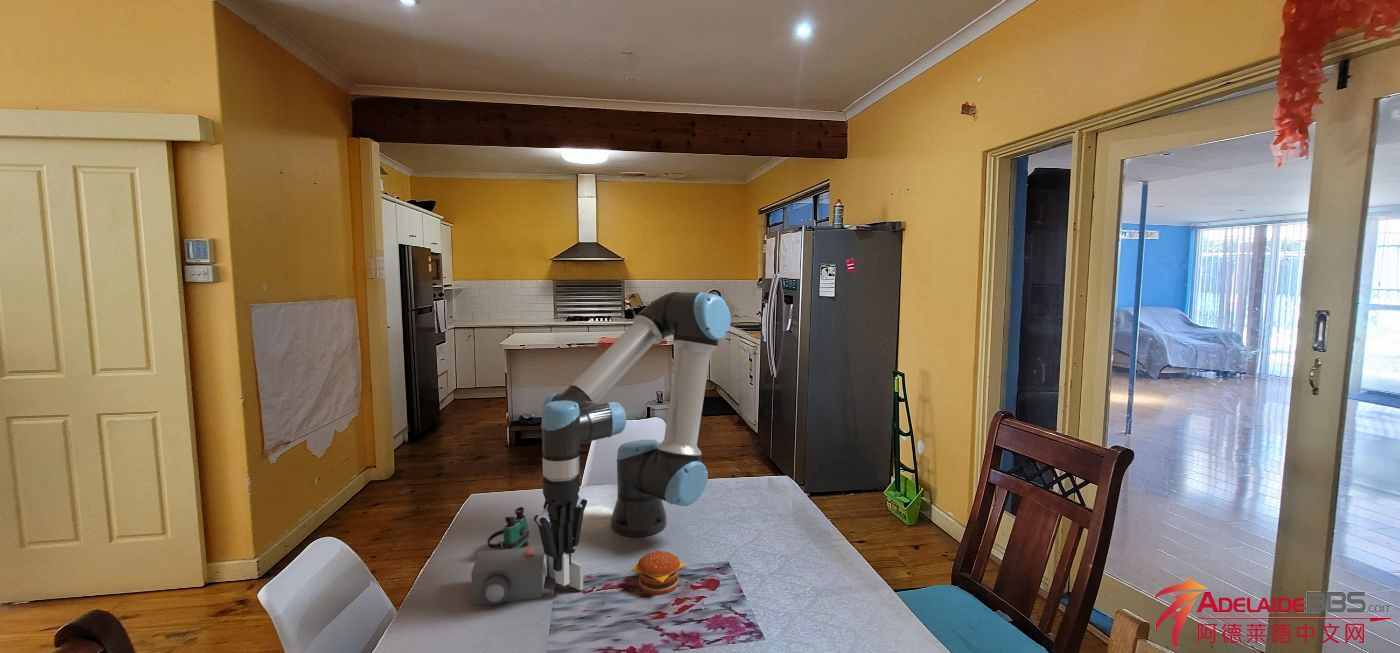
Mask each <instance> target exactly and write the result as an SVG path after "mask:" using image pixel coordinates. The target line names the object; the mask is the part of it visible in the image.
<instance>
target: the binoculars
mask: <svg viewBox="0 0 1400 653" xmlns="http://www.w3.org/2000/svg"><path fill="white" fill-rule="evenodd" d="M524 512H525V508H524V506H520V507H517V508H516V509H515V510H514V513H515V515H516V517H515V516H506V517H504V518H505V519H504V520H505V522H506V525H505V526H503V528H502V529H500V530H498V531H496V532H494V533H493V534H491V535H490V536H489V537H488V538H487V541H486V543H487V547H488V548H490V549H494V550H504V549H516V548H528V547H531V546H530V543H529V542H528V540H529V539H530V530H529V526H528V520H527V516H526V515H525V514H524ZM500 535H503V541H498V543H493V544H492V543H490V542H491V541H492V540H493V539H494V538H495V537H498V536H500Z"/></svg>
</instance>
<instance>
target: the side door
mask: <svg viewBox="0 0 1400 653" xmlns="http://www.w3.org/2000/svg"><path fill="white" fill-rule="evenodd" d="M545 558H546V577H550V578H553V579H554V580H555V570H554V569H553V557H550V556H548V555H546V554H545ZM567 585H568V586H570V587H572V588H574V589H576V590H578V591H582V590H584V564H583V563H580V562H578V561H575V560H573V559H571V565H570V566H569V584H567ZM567 585H566V586H567Z"/></svg>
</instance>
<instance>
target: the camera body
mask: <svg viewBox="0 0 1400 653" xmlns="http://www.w3.org/2000/svg"><path fill="white" fill-rule="evenodd" d="M470 575H471V576H470V577H471V578H470V579H471V603H472V605H484V604H488V605H499V604H501V603H503V602H504V603H505V602H506V603H507V602H514V601H524V600H525V601H526V600H535V599H536V600H537V599H543V597H544V596H543V594H544V588H545V582H546V577H547V564H546V554H545V553H544V548H543V545H542V546H530V547H528V548H516V549H504V550H497V549H493V550H482V551H479V553H478V555H477V558H476V560H475V563H474V565H473V568H472V570H471V572H470Z"/></svg>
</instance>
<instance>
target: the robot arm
mask: <svg viewBox="0 0 1400 653" xmlns="http://www.w3.org/2000/svg"><path fill="white" fill-rule="evenodd" d="M731 322H732V321H731V312H730V308H729V307H728V305H727V302H726V301H725V300H724V298H722V297H721V296H719V295H718V294H714V293H709V292H703V291H702V292H686V291H685V292H681V291H674V292H669V293H665V294H664V295H661V296H659V297H658V298H656V299H655V300H653V301H651V303H649V304H647V306H645V307H644V308H642V309H641V311H639V312H638V313H637V314H636V315H635V316H634V317H633V319H632V325H631V326H629V327H628V329H626V330H625V331H624V332H623V334H621V335H620V337H618V339H617V340H615V341H614V342H613V343H612V344H611V346H609V347H608V348H607V349H606V350H605V351H604V352H603V353H602V354H600V356H599V357H598V358H597V359H596V360H595V361H594V362H593V363H592V364H591V365H590V366H589V367H588V368H587V369H586V370H585V371H584V372H583V373H581V374H580V376H578V377H577V379H576V380H575V381H574V382H572V383H571V384H570V385H569V387H568V388H566V389H565V390H564V391H563V392H562V393H561V392H558V393H552V394H550V395H548V396H547V397H546V398H545V399H544V401H543V403H542V407H541V413H542V414H541V424H540V426H541V427H540V428H541V437H542V438H541V439H542V440H541V441H542V442H541V444H542V446H541V447H542V450H541V451H542V476H543V478H542V494H543V497H544V503H543V507H542V508H543V510H542V511H541V513H540V514H536V515H534V517H533V520H534V522H535V524H536V525H537V527H538V531H539V536H540V540H541V543H542V544H541V545H542V546H543V548H544V553H545V556H546V555H548V556H550V557H553V569H554V570H555V579H554V580H555V583H556V584H559V585H561V586H563V587H566V586H567V584H569V566H570V565H571V560H572V554H574V553H575V552H576V549H575V548H574V547H578V546H579V543H580V538H581V533H582V532H581V531H582V525H583V519H584V512H585V509H586V506H588V500H587V499H586V498H585V499H584V498H582V497H580V496H579V492H580V489H581V488H580V482H581V481H580V475H579V474H580V448H581V446H580V445H581V444H585V443H588V442H592V441H593V442H594V441H596V440H602V439H605V438H612V437H613V436H615V435H619V434H621V433H622V432H623V431H624V430H625V428H626V425H627V415H626V411H625V410H626V409H624V407H623V406H622V404H620V403H619V402H618V401H605V402H603V403H598V402H599V401H600V400H602V399H601V398H603V397H604V395H606V394H607V393H608V392H609V391H610V389H612V388H613V386H614V385H616V384H617V382H618V381H619V380H620V379H621V378H622V377H623V376H624V375H625V374H627V372H628V371H629V370H630V369H631V368H632V367H633V366H634V365H635V364H636V362H637V361H638V360H639V359H640V358H642V356H643V355H644V354H645V353H646V352H647V351H648V350H649V349H650V348H651V347H652V346H653V345H659V344H660V343H661V342H662V341H663V340H665V339H666V338H667V337H670V336H673V340H672V341H673V343H674V344H675V346H676V348H677V352H676V359H675V365H674V372H673V379H672V385H671V392H670V397H669V398H670V399H669V404H668V412H667V418H666V424H665V429H664V430H665V431H664V437H663V440H662V442H660V441H659V440H656V439H637V440H631V441H628V442H624V443H623V444H620V446H619V447H618V448H617V458H616V475H617V476H616V480H617V482H616V483H617V499H616V502H615V504H614V508H613V510H612V514H611V518H610V521H611V522H610V526H611V529H612V531H613V532H615V533H617V534H618V535H620V536H621V535H622V536H625V537H631V538H634V537H635V538H637V537H638V538H639V537H641V538H642V537H648V536H651V535H656V534H657V533H661V532H662V531H663V530H665V529H666V527H667V523H668V522H667V518H668V517H667V512H666V509H665V507H664V504H663V501H664V502H667V504H669V505H675V506H678V507H688V506H691V505H693V504H694V503H695V502H696V501H698V499H699V498H700V497H701V496H702V494H703V493H704V491H705V490H706V487H707V483H708V478H709V474H708V470H707V467H706V465H705V464H704V463H703V462H702V459H701V458H702V451H701V449H700V448H699V447H698V446H699V445H697V444H698V439H699V432H700V426H701V420H702V419H701V418H702V413H703V406H704V401H705V400H704V399H705V392H706V385H707V378H708V374H709V372H708V371H709V366H710V360H711V359H710V357H711V354H712V352H714V351H715V350H716V349H718V345H719V340H722V339H724V338H725V337H726V336H727V334H728V333H729V331H730V328H731Z"/></svg>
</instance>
